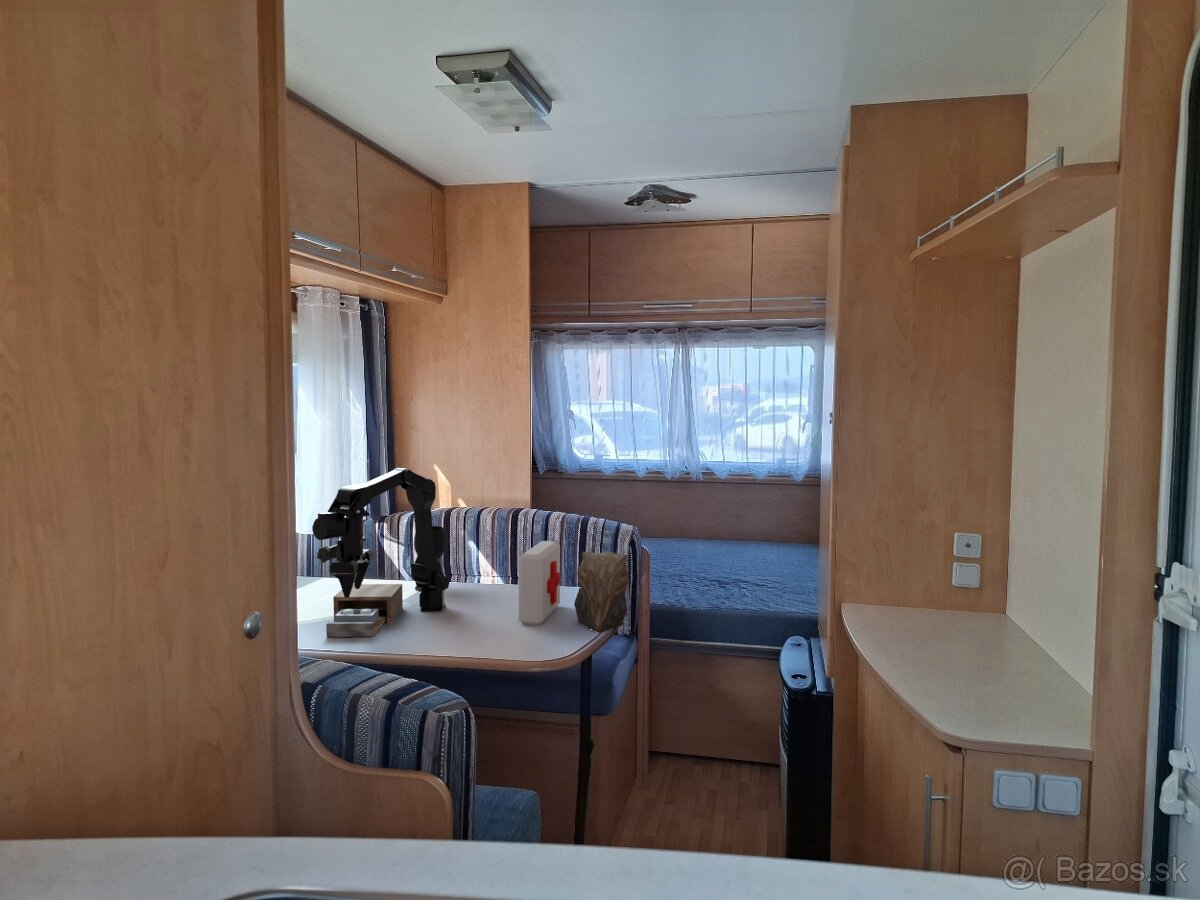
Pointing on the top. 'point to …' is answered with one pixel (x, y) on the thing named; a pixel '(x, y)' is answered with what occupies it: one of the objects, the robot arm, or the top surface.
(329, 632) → the shelf board
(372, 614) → the tray
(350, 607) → the open wooden box
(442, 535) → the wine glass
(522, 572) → the bevelled white case
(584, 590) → the owl
